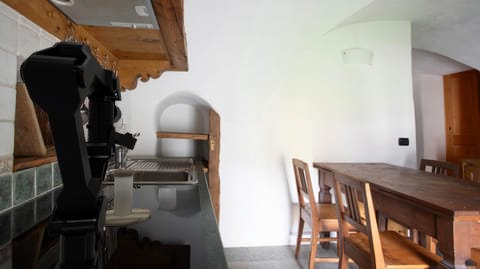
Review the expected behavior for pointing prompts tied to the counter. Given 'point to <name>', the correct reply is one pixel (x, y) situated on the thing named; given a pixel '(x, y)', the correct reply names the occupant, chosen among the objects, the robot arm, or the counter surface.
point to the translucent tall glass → (123, 192)
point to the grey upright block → (167, 198)
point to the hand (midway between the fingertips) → (99, 183)
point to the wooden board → (127, 217)
